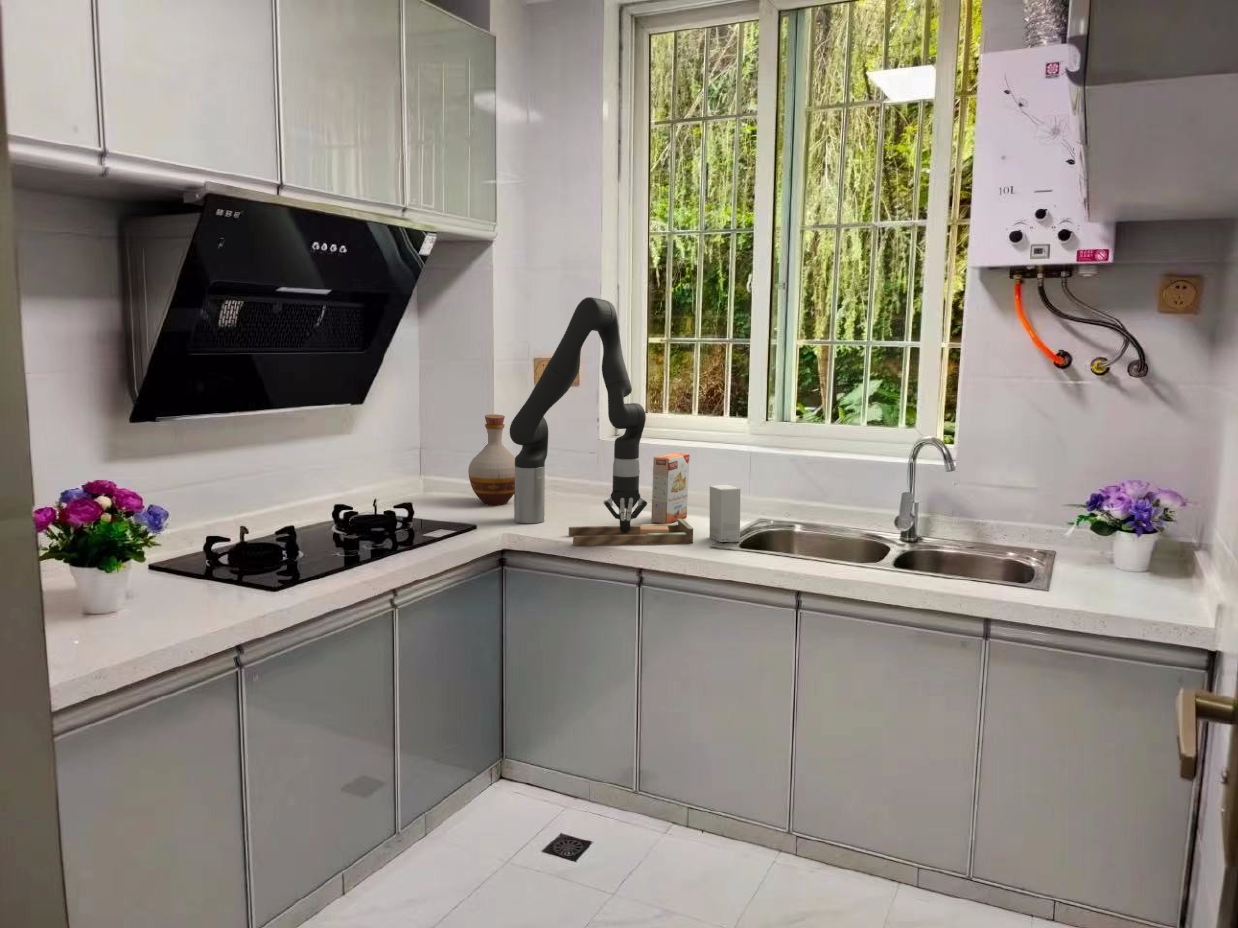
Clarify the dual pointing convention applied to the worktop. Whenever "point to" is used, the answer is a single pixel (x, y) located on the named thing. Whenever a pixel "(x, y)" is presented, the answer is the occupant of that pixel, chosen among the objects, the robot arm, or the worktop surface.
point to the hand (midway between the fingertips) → (624, 532)
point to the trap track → (631, 535)
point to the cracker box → (670, 488)
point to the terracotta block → (653, 529)
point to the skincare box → (725, 513)
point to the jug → (493, 466)
